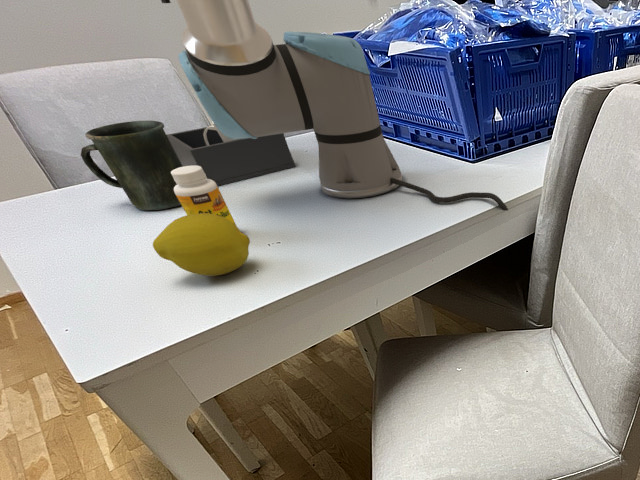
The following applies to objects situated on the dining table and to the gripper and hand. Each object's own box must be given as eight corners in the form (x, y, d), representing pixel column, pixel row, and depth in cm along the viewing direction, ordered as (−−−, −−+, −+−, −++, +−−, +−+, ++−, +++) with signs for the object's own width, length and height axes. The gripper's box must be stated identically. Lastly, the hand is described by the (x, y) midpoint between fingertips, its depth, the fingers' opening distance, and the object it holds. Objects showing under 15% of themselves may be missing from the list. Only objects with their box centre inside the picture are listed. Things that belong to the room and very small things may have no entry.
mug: (188, 209, 80) (147, 134, 72) (100, 217, 78) (46, 140, 70) (209, 188, 88) (173, 118, 79) (128, 195, 86) (83, 124, 78)
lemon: (267, 255, 66) (241, 200, 61) (255, 281, 61) (226, 223, 55) (188, 264, 65) (154, 208, 59) (169, 291, 59) (130, 233, 54)
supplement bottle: (213, 249, 68) (174, 178, 61) (195, 240, 71) (156, 171, 63) (247, 236, 71) (214, 167, 64) (229, 228, 74) (196, 161, 67)
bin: (295, 166, 97) (282, 131, 92) (209, 188, 88) (190, 150, 83) (265, 151, 105) (252, 118, 100) (184, 170, 96) (165, 134, 92)
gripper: (211, -167, 78) (264, -3, 93) (30, -188, 65) (125, 4, 80) (226, -174, 74) (279, -3, 89) (36, -199, 61) (135, 5, 76)
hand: (206, 1), depth 84 cm, fingers open, 13 cm apart
